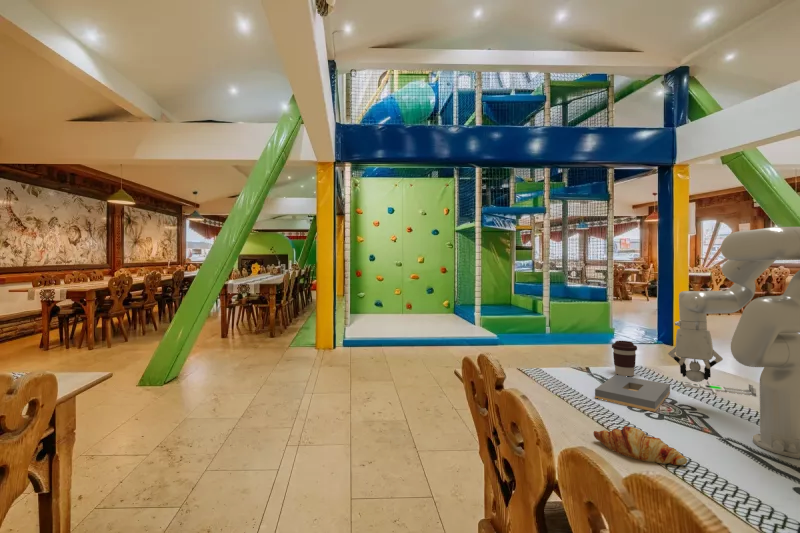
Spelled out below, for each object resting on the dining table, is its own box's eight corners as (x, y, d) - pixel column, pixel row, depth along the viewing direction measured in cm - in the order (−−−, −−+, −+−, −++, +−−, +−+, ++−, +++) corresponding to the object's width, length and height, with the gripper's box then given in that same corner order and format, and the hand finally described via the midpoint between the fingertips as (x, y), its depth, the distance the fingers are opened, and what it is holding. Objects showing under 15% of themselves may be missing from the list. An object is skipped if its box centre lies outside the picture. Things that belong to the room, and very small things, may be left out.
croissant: (687, 476, 94) (689, 443, 97) (685, 473, 87) (687, 437, 90) (595, 449, 108) (598, 420, 111) (587, 444, 101) (591, 414, 104)
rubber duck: (686, 382, 130) (685, 359, 130) (685, 377, 135) (684, 355, 135) (706, 384, 127) (705, 360, 127) (704, 380, 132) (703, 357, 132)
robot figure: (749, 389, 150) (680, 380, 162) (749, 381, 150) (680, 373, 162) (759, 401, 136) (684, 391, 148) (759, 392, 136) (684, 383, 148)
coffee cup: (607, 373, 172) (606, 341, 172) (621, 370, 177) (620, 339, 177) (628, 379, 163) (627, 344, 163) (642, 376, 168) (642, 342, 168)
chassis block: (655, 411, 126) (655, 401, 126) (595, 398, 140) (594, 389, 140) (669, 393, 145) (669, 384, 145) (615, 382, 158) (615, 374, 158)
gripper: (661, 325, 135) (663, 375, 134) (724, 329, 123) (726, 384, 122) (665, 323, 140) (667, 371, 140) (726, 326, 128) (728, 379, 128)
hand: (695, 377), depth 131 cm, fingers closed on rubber duck, 5 cm apart
